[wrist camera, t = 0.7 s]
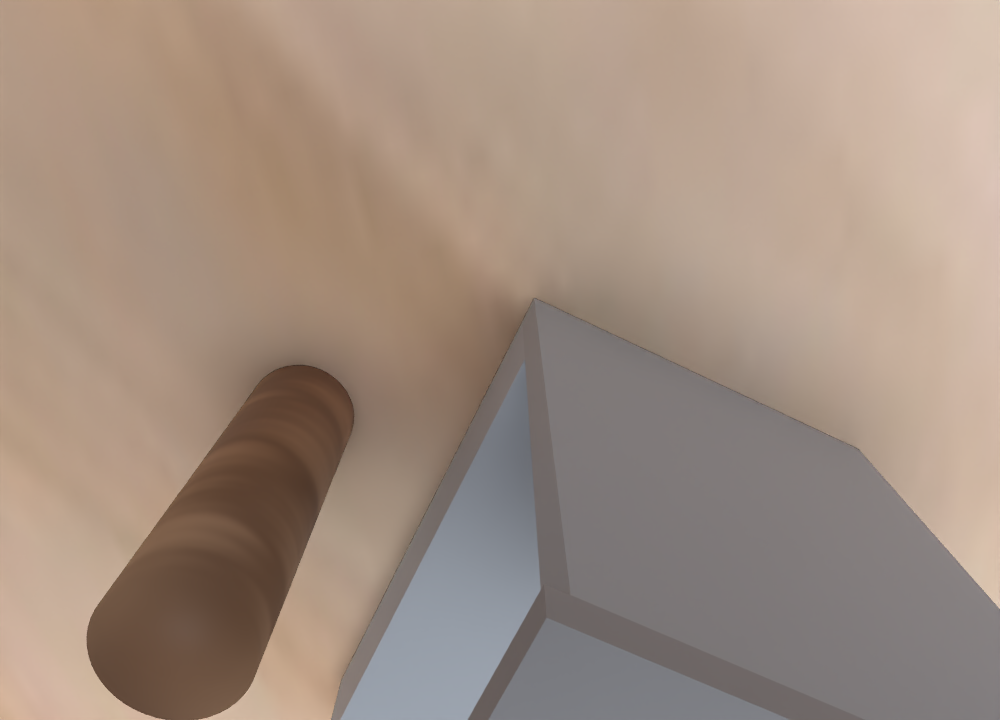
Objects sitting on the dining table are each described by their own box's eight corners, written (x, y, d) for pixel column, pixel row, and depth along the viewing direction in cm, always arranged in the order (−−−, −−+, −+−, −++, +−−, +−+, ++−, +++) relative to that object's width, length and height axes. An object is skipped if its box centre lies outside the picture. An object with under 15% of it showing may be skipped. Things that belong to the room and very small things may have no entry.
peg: (234, 437, 37) (64, 683, 23) (271, 348, 36) (118, 548, 21) (330, 478, 37) (223, 743, 23) (370, 391, 36) (283, 615, 22)
